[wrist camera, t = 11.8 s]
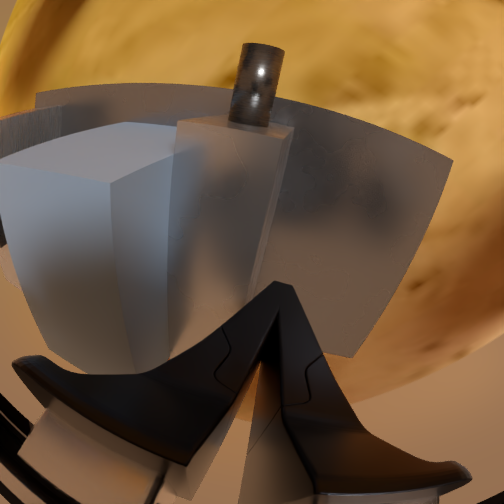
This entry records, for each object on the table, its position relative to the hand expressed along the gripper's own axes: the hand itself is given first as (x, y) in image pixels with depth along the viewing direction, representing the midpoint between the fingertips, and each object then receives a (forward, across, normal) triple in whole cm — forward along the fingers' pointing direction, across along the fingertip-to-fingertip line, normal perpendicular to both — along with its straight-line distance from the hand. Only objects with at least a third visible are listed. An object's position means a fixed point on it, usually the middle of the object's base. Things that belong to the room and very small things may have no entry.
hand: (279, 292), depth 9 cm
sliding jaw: (+3, +2, 0) cm, 4 cm away
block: (+3, +6, 0) cm, 7 cm away
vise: (+4, +5, 0) cm, 7 cm away
